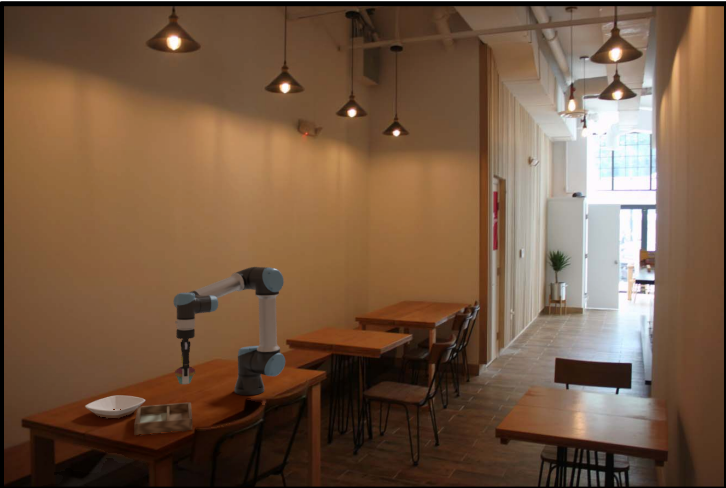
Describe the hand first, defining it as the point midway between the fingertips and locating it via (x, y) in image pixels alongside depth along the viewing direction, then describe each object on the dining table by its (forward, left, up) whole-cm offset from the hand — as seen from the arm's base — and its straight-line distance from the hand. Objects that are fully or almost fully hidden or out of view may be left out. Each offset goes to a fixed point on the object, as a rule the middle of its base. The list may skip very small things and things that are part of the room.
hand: (185, 380), depth 251 cm
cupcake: (0, 0, -1) cm, 1 cm away
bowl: (+30, -20, -18) cm, 40 cm away
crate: (+9, 0, -18) cm, 20 cm away
